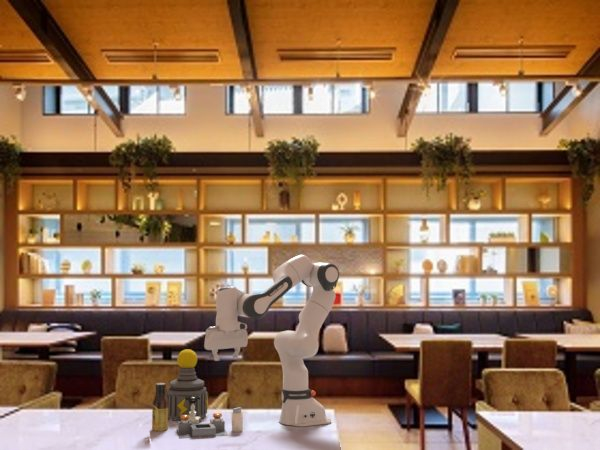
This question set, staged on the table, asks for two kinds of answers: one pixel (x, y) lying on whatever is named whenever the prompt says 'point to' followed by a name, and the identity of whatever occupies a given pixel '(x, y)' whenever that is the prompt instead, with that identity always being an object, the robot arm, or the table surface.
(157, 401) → the sauce bottle
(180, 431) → the housing
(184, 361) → the decorative lamp
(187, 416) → the plunger
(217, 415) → the plunger
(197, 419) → the valve
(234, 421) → the cylinder
